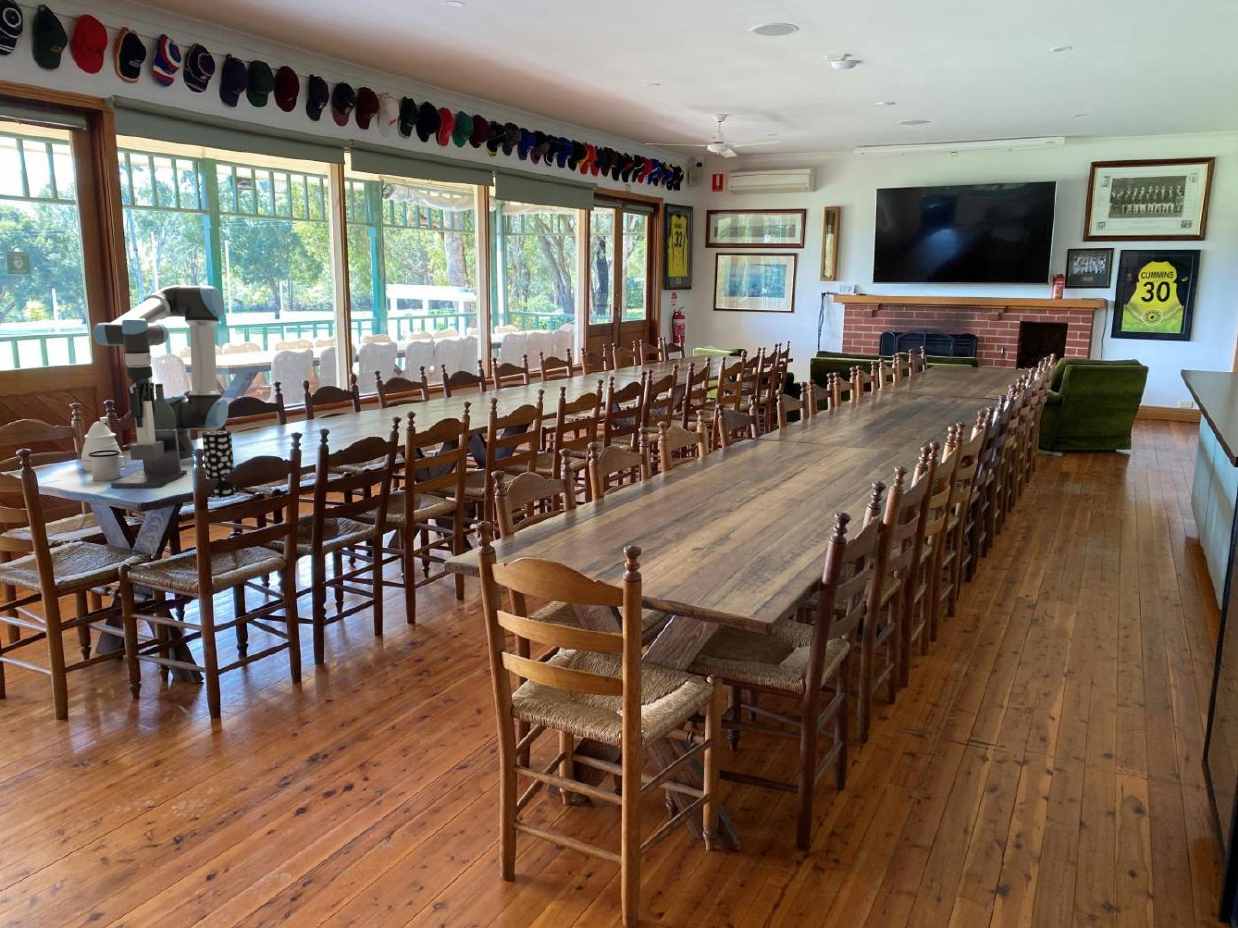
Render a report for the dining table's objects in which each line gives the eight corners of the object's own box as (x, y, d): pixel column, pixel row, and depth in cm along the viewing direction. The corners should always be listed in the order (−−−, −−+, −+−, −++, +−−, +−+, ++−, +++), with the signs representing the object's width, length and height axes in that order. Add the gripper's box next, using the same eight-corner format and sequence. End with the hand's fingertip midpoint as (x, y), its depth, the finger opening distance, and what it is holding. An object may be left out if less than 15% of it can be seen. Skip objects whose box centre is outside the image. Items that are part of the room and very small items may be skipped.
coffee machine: (141, 474, 321) (136, 429, 318) (187, 474, 321) (183, 429, 318) (111, 487, 301) (106, 439, 298) (160, 487, 302) (155, 439, 298)
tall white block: (144, 453, 311) (139, 401, 308) (156, 453, 311) (151, 401, 308) (138, 456, 307) (133, 402, 304) (151, 456, 307) (145, 402, 304)
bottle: (172, 468, 331) (164, 385, 325) (147, 468, 331) (139, 385, 325) (185, 463, 340) (177, 382, 334) (160, 463, 340) (152, 382, 334)
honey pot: (121, 462, 342) (116, 414, 338) (124, 468, 331) (119, 418, 328) (81, 465, 335) (75, 417, 331) (83, 472, 324) (78, 421, 321)
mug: (100, 482, 308) (97, 456, 306) (85, 479, 313) (82, 453, 311) (135, 476, 318) (132, 450, 316) (119, 473, 323) (117, 447, 321)
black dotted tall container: (239, 491, 296) (235, 430, 292) (230, 497, 288) (224, 435, 284) (213, 491, 296) (208, 430, 292) (203, 497, 288) (197, 435, 284)
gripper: (137, 368, 295) (144, 440, 300) (162, 363, 312) (169, 431, 317) (113, 368, 295) (121, 440, 299) (140, 363, 312) (147, 431, 317)
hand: (145, 435), depth 308 cm, fingers open, 4 cm apart
